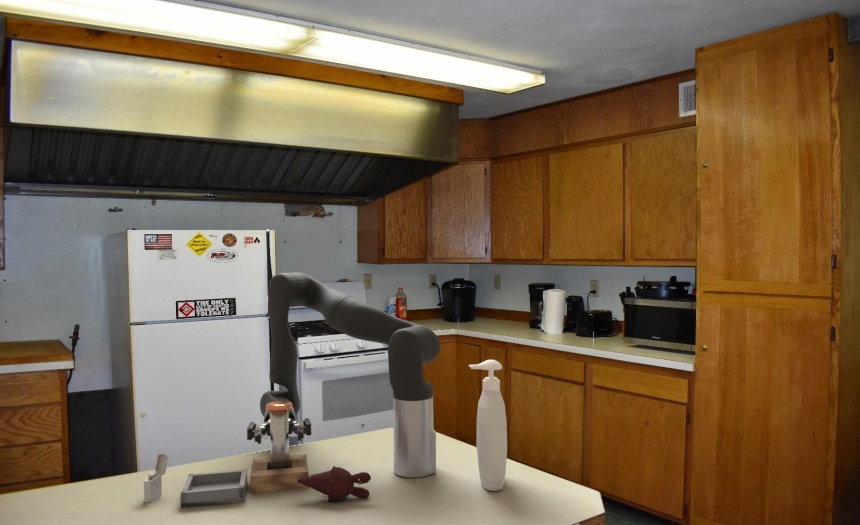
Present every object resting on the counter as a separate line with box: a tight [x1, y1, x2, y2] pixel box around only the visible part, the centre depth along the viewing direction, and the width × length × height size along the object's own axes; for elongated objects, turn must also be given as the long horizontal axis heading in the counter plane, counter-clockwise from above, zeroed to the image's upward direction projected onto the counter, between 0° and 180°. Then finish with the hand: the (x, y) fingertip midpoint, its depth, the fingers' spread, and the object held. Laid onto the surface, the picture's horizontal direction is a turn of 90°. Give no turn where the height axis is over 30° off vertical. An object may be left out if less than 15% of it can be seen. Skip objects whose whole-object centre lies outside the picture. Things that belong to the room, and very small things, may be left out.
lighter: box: [143, 453, 169, 503], centre depth 127 cm, size 7×2×8 cm, turn 176°
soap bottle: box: [468, 359, 508, 492], centre depth 131 cm, size 14×8×27 cm, turn 0°
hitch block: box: [249, 453, 310, 494], centre depth 135 cm, size 12×12×4 cm
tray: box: [180, 468, 248, 509], centre depth 127 cm, size 12×11×3 cm
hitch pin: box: [266, 401, 292, 470], centre depth 135 cm, size 6×6×17 cm
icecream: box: [297, 465, 372, 503], centre depth 124 cm, size 7×7×15 cm
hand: (279, 437), depth 133 cm, fingers open, 8 cm apart
